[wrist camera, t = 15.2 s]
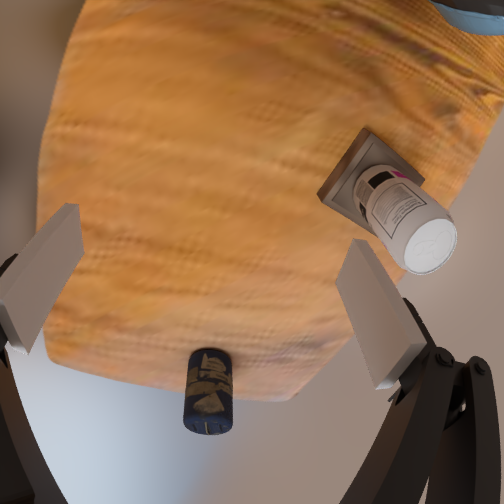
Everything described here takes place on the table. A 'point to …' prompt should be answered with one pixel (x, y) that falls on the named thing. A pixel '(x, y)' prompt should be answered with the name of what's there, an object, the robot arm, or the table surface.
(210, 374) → the canister
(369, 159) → the stand
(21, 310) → the robot arm
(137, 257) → the table surface
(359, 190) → the supplement can
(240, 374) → the table surface
